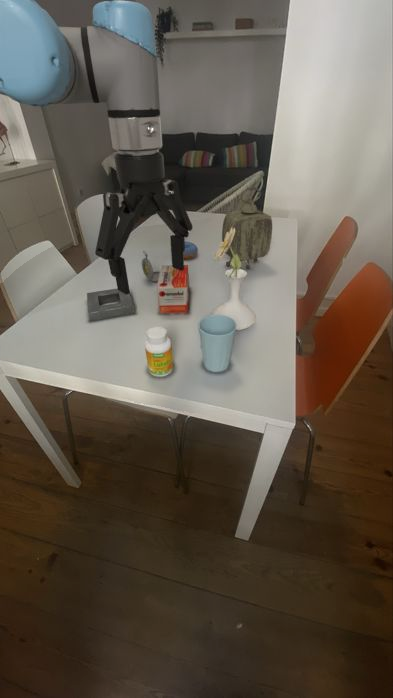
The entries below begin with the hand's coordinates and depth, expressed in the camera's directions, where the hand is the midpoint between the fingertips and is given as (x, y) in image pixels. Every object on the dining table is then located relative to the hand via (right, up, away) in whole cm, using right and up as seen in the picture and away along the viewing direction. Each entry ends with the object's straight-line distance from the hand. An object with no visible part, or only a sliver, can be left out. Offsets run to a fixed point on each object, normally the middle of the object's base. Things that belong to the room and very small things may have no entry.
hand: (152, 279), depth 62 cm
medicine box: (+2, 0, +31) cm, 31 cm away
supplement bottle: (+1, -18, +7) cm, 19 cm away
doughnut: (+4, +21, +58) cm, 62 cm away
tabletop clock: (+26, +15, +49) cm, 57 cm away
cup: (+13, -17, +8) cm, 23 cm away
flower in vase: (+18, -7, +21) cm, 28 cm away
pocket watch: (-5, +9, +42) cm, 44 cm away
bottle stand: (-16, -2, +29) cm, 33 cm away
